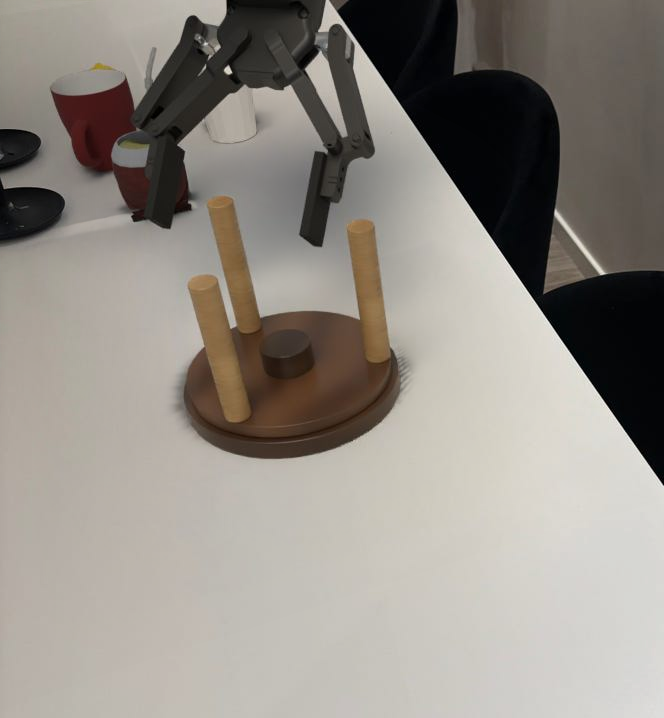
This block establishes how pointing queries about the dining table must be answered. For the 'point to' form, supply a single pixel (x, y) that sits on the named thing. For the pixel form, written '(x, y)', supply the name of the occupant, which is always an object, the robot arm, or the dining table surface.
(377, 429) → the dining table surface
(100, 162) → the mug
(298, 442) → the rack base
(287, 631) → the dining table surface
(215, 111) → the shot glass
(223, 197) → the rack turntable
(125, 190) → the mate gourd
